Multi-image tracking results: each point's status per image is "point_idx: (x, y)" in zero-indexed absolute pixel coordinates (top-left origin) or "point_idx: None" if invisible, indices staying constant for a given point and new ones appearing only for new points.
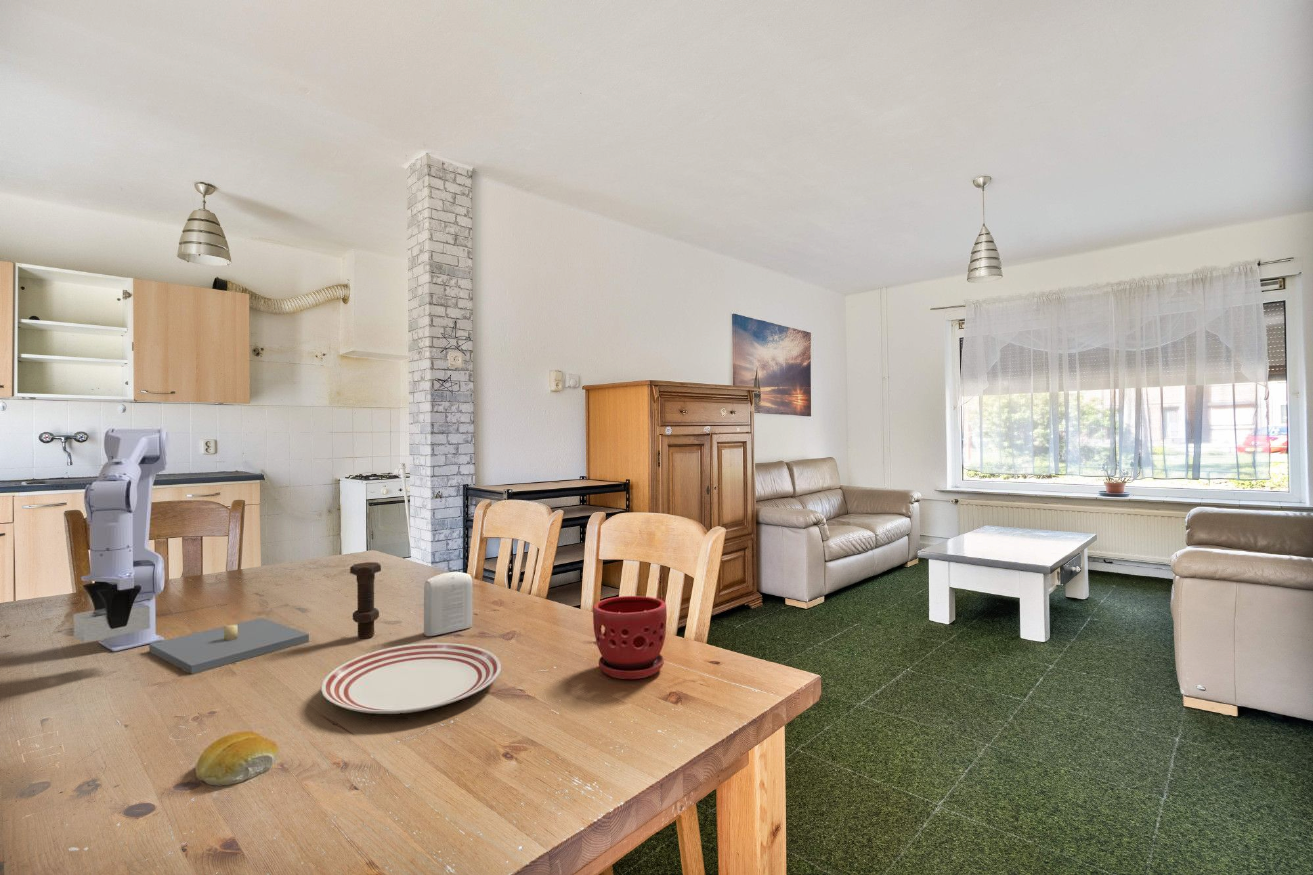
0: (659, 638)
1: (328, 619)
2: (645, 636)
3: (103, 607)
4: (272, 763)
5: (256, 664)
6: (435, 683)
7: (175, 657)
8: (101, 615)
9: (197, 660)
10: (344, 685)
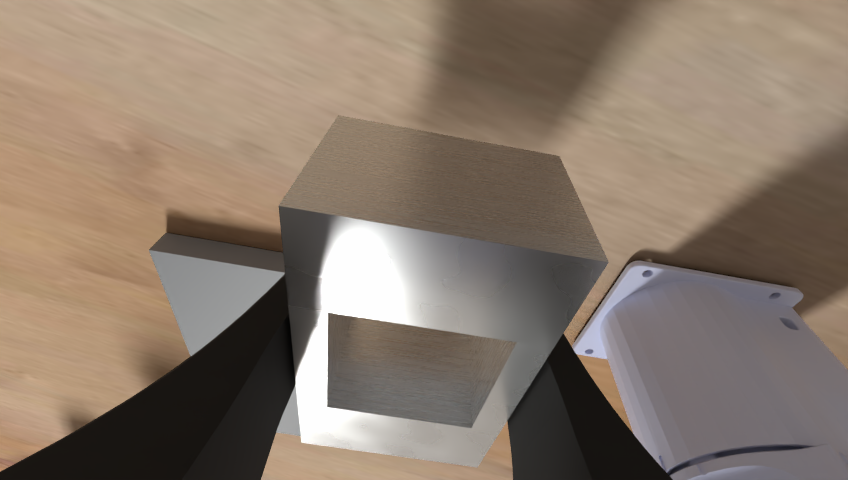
0: None
1: (348, 468)
2: None
3: (534, 392)
4: None
5: (133, 314)
6: None
7: (284, 272)
8: (300, 303)
9: (194, 277)
10: None
